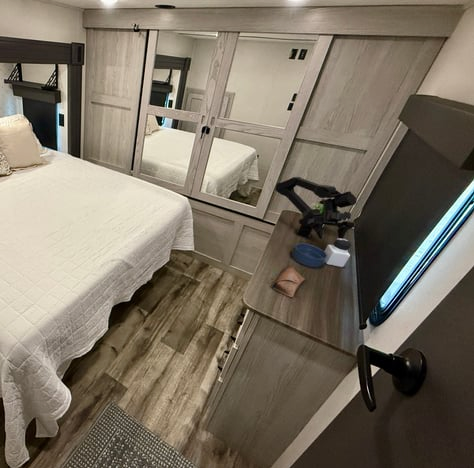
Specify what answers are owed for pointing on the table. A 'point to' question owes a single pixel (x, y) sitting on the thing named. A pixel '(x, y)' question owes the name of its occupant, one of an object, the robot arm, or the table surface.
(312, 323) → the table surface
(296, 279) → the sunglasses case
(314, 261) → the blue round bowl
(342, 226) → the robot arm
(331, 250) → the medicine bottle
